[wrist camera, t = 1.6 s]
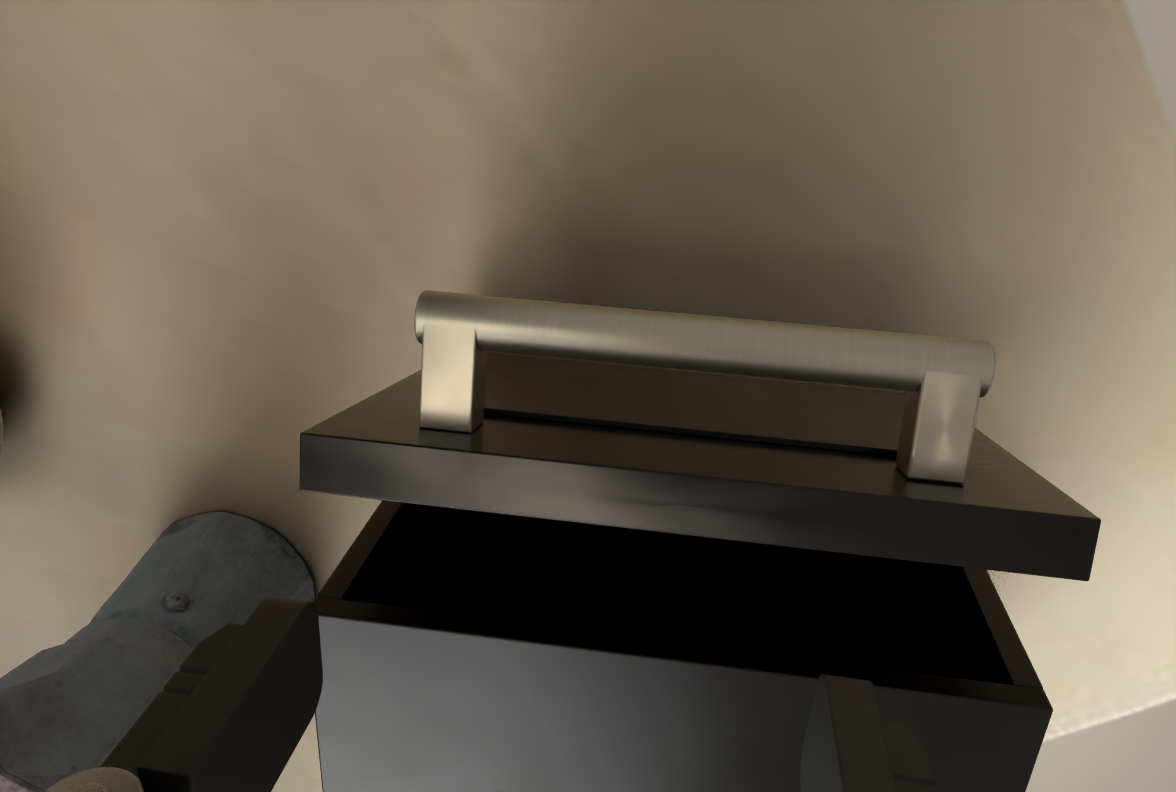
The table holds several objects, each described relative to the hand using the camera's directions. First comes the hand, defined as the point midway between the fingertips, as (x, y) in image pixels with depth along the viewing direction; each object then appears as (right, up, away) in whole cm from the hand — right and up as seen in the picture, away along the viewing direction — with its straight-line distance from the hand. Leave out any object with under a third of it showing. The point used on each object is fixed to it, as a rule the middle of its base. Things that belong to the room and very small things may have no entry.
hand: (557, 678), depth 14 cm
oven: (+4, -3, +27) cm, 28 cm away
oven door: (+5, +7, +23) cm, 25 cm away
